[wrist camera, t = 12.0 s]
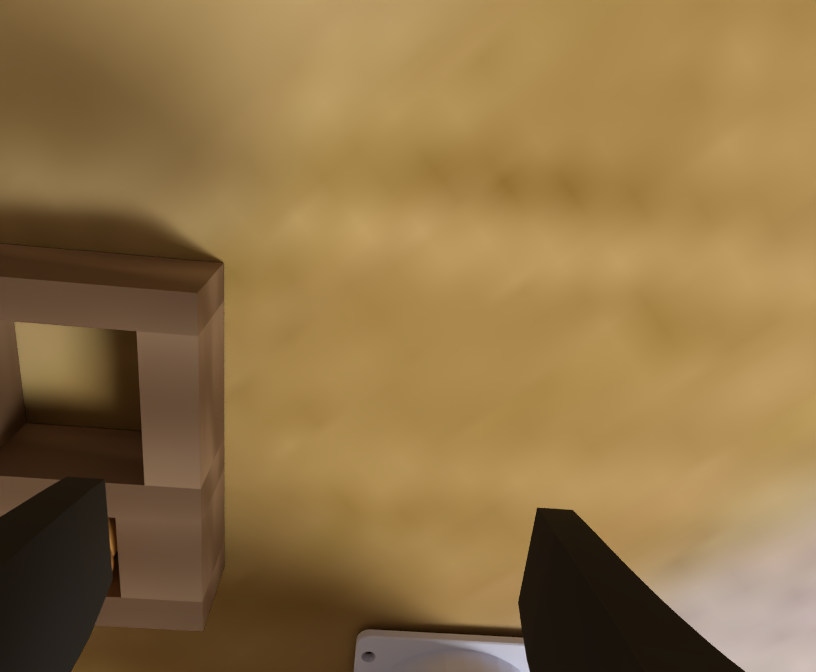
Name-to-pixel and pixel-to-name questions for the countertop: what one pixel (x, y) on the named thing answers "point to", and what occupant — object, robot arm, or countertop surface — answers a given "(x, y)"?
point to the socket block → (124, 449)
